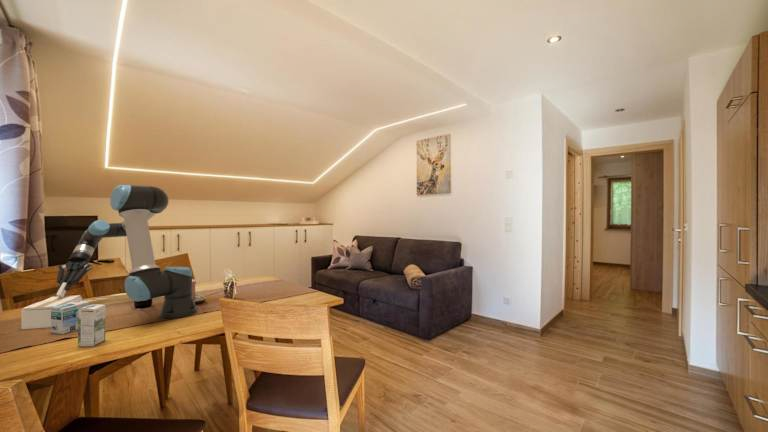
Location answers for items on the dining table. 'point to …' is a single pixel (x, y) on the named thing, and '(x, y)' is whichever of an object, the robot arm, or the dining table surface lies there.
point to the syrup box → (91, 325)
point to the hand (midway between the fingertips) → (59, 296)
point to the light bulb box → (66, 317)
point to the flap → (65, 298)
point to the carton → (40, 314)
